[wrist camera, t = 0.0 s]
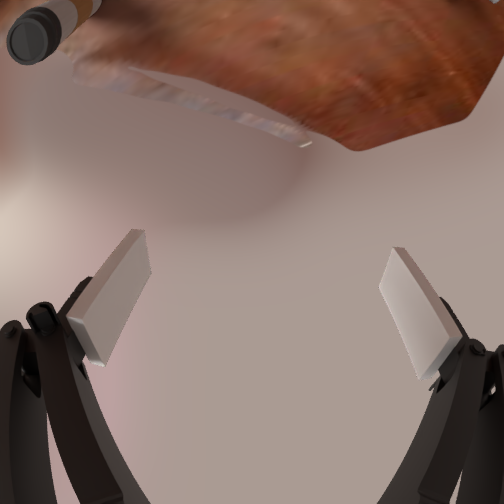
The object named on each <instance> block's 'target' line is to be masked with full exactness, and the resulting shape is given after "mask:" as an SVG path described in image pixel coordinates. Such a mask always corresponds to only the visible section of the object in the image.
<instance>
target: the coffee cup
mask: <svg viewBox="0 0 504 504" xmlns="http://www.w3.org/2000/svg"><path fill="white" fill-rule="evenodd" d="M101 2H102V0H47V1H45V2H44V3H42V4H41V5H39V6H37V7H34V8H31V9H29V10H27V11H26V12H25V13H24V14H22V15H21V16H20V17H19V18H18V19H17V20H16V21H15V23H14V24H13V26H12V27H11V28H10V30H9V32H8V35H7V42H6V43H7V49H8V52H9V54H10V56H11V57H12V58H13V59H14V60H15V61H16V62H18V63H20V64H22V65H33V64H35V63H37V62H40V61H43V60H44V59H45V58H47V57H48V56H49V55H51V54H52V53H53V52H54V51H55V50H56V49H57V47H58V46H59V45H60V44H61V43H62V42H63V41H64V40H65V39H66V38H67V37H68V36H69V35H70V34H72V33H73V32H74V31H75V30H76V29H77V28H78V27H79V26H80V25H81V24H83V23H84V22H85V21H86V20H87V19H88V18H89V17H90V16H91V15H93V14H94V13H95V12H96V11H97V10H98V8H99V7H100V5H101Z"/></svg>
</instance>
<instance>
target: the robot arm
mask: <svg viewBox="0 0 504 504" xmlns="http://www.w3.org/2000/svg"><path fill="white" fill-rule="evenodd" d="M150 275H151V268H150V263H149V256H148V251H147V244H146V237H145V230H137V229H131V231H130V232H129V233H128V234H127V235H126V237H125V238H124V239H123V240H122V241H121V243H120V244H119V245H118V246H117V247H116V249H115V250H114V251H113V252H112V254H111V255H110V256H109V257H108V259H107V260H106V261H105V263H104V264H103V265H102V266H101V268H100V269H99V270H98V272H97V273H96V274H95V276H94V277H87V278H86V279H84V280H83V281H82V282H80V283H79V285H78V286H77V287H76V289H75V290H74V292H73V293H72V294H71V295H70V298H68V300H67V301H66V302H65V304H64V305H63V306H62V308H61V309H60V311H59V312H58V313H56V311H55V309H54V307H53V305H52V304H51V303H49V302H40V303H37V304H36V305H34V306H33V307H31V308H30V310H29V311H28V312H27V315H26V320H27V322H28V323H29V325H30V327H31V329H24V328H23V326H22V325H21V323H20V322H19V321H17V320H12V321H9V322H7V323H6V324H5V325H4V326H3V327H2V328H1V330H0V504H57V500H56V495H55V490H54V485H53V479H52V472H51V465H50V457H49V448H48V434H47V413H48V417H49V421H50V425H51V428H52V432H53V435H54V438H55V442H56V445H57V448H58V451H59V454H60V456H61V459H62V462H63V465H64V467H65V470H66V472H67V475H68V477H69V480H70V482H71V484H72V487H73V489H74V491H75V493H76V495H77V497H78V500H79V502H80V504H150V502H149V501H148V499H147V498H146V496H145V494H144V493H143V491H142V490H141V488H140V487H139V485H138V484H137V482H136V480H135V478H134V477H133V475H132V473H131V471H130V470H129V468H128V466H127V464H126V462H125V461H124V459H123V457H122V455H121V453H120V451H119V449H118V447H117V445H116V443H115V441H114V439H113V437H112V435H111V432H110V430H109V428H108V426H107V424H106V421H105V419H104V417H103V414H102V412H101V410H100V407H99V404H98V402H97V399H96V397H95V394H94V391H93V389H92V386H91V383H90V380H89V377H88V375H87V371H86V368H85V365H84V363H83V362H82V360H83V358H84V356H85V354H86V356H87V358H88V360H89V361H90V363H93V364H96V365H100V366H104V367H105V366H106V364H107V362H108V360H109V357H110V355H111V353H112V351H113V349H114V347H115V344H116V342H117V340H118V338H119V336H120V334H121V332H122V330H123V327H124V325H125V323H126V321H127V319H128V317H129V315H130V313H131V311H132V309H133V307H134V305H135V303H136V301H137V299H138V298H139V296H140V294H141V292H142V290H143V288H144V286H145V284H146V282H147V280H148V279H149V277H150ZM379 290H380V292H381V294H382V296H383V298H384V300H385V302H386V304H387V306H388V308H389V311H390V313H391V315H392V317H393V319H394V321H395V324H396V326H397V328H398V331H399V333H400V335H401V338H402V340H403V342H404V345H405V347H406V349H407V352H408V354H409V357H410V359H411V362H412V364H413V367H414V369H415V372H416V375H417V377H418V380H423V379H429V378H432V377H433V375H434V374H435V373H436V372H437V370H439V373H440V377H439V378H438V379H437V380H436V381H435V382H434V384H433V385H432V386H431V387H430V389H429V391H431V390H432V388H434V390H433V393H432V396H431V398H430V401H429V404H428V406H427V409H426V412H425V414H424V416H423V419H422V421H421V424H420V426H419V428H418V431H417V433H416V435H415V437H414V439H413V441H412V443H411V445H410V448H409V450H408V452H407V454H406V456H405V457H404V460H403V461H402V463H401V465H400V467H399V469H398V470H397V472H396V474H395V476H394V478H393V479H392V481H391V482H390V484H389V486H388V487H387V489H386V491H385V492H384V494H383V495H382V497H381V498H380V500H379V501H378V503H377V504H449V502H450V498H451V496H452V494H453V492H454V489H455V487H456V485H457V482H458V479H459V477H460V474H461V472H462V476H461V481H460V487H459V491H458V496H457V500H456V504H504V345H503V344H502V345H499V346H498V348H497V349H496V351H495V352H492V351H486V349H485V347H484V345H483V344H482V343H481V342H479V341H478V340H476V339H469V337H468V335H467V333H466V332H465V330H464V328H463V327H462V325H461V323H460V322H459V320H458V319H457V317H456V315H455V314H454V313H453V310H452V309H451V307H450V306H449V304H448V303H447V302H446V301H445V300H444V299H443V298H441V297H439V296H438V295H437V293H436V292H435V290H434V289H433V287H432V286H431V285H430V283H429V282H428V280H427V279H426V277H425V276H424V274H423V273H422V272H421V270H420V269H419V267H418V266H417V265H416V263H415V262H414V261H413V259H412V258H411V256H410V255H409V254H408V253H407V251H406V250H405V249H404V248H399V247H393V248H392V251H391V254H390V257H389V260H388V263H387V265H386V268H385V271H384V274H383V277H382V279H381V282H380V285H379ZM494 386H495V387H496V391H495V392H494V393H493V394H491V390H492V388H493V387H494ZM462 469H463V470H462Z"/></svg>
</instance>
